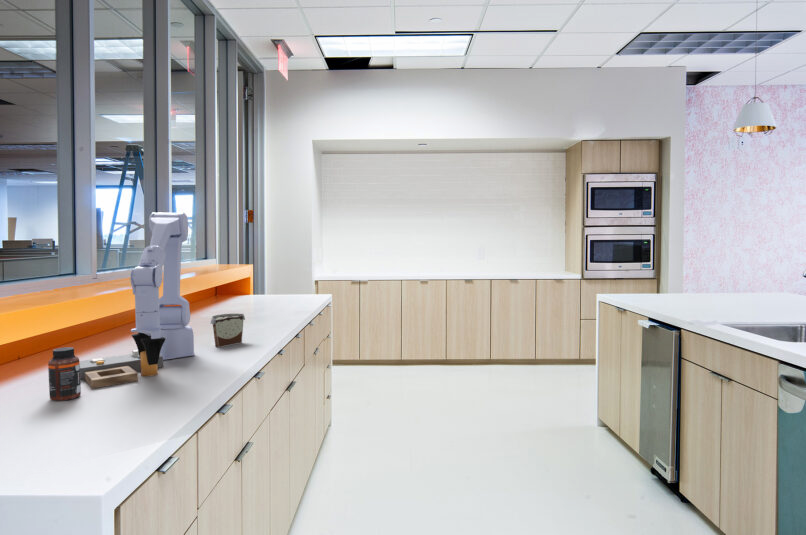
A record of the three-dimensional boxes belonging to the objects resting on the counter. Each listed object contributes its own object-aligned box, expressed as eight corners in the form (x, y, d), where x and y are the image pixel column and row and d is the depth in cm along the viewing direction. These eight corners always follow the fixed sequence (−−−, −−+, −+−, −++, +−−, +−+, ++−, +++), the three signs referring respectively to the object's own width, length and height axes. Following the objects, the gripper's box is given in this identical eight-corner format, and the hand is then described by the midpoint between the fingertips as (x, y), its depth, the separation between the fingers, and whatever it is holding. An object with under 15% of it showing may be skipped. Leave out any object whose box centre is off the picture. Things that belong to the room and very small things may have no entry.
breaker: (141, 357, 144) (141, 349, 144) (144, 359, 142) (143, 350, 142) (132, 359, 142) (132, 350, 142) (134, 360, 140) (134, 351, 140)
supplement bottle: (87, 395, 116) (85, 347, 115) (62, 403, 110) (60, 352, 110) (68, 392, 118) (66, 345, 117) (43, 400, 112) (41, 350, 112)
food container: (234, 340, 179) (234, 312, 178) (245, 342, 175) (244, 313, 175) (203, 346, 169) (202, 316, 168) (214, 348, 165) (213, 318, 165)
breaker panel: (153, 360, 148) (153, 348, 148) (163, 366, 141) (162, 354, 141) (74, 373, 135) (73, 359, 135) (79, 380, 128) (79, 366, 128)
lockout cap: (155, 371, 137) (154, 349, 137) (159, 374, 134) (158, 352, 134) (139, 373, 134) (138, 351, 134) (143, 376, 131) (142, 354, 131)
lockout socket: (128, 372, 135) (127, 365, 135) (138, 380, 128) (137, 372, 128) (84, 379, 129) (84, 372, 128) (92, 388, 121) (92, 380, 121)
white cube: (102, 367, 137) (101, 358, 137) (103, 368, 136) (103, 359, 135) (91, 368, 136) (91, 359, 136) (93, 370, 134) (93, 361, 134)
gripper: (124, 309, 136) (125, 359, 137) (138, 315, 125) (139, 369, 126) (152, 307, 141) (153, 355, 141) (168, 313, 130) (169, 364, 130)
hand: (148, 361), depth 134 cm, fingers open, 7 cm apart
